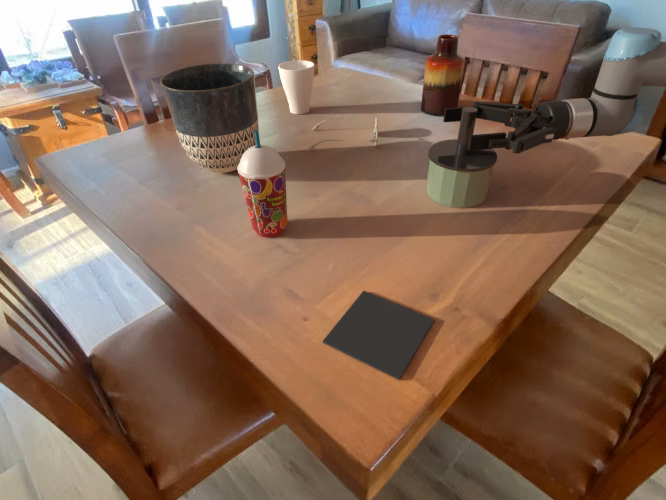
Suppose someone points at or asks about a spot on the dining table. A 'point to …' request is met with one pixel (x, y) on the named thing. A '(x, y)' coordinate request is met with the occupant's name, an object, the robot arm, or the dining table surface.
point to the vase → (442, 77)
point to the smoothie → (264, 188)
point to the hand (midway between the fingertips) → (456, 128)
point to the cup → (297, 84)
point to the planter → (213, 112)
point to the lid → (462, 148)
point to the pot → (457, 186)
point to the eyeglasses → (342, 140)
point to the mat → (380, 333)
